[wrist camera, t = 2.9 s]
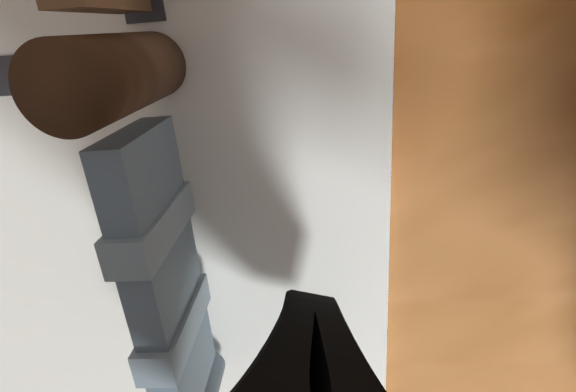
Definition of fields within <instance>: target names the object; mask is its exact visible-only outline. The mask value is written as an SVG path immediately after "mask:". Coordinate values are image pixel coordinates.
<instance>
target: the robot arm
mask: <svg viewBox="0 0 576 392" xmlns="http://www.w3.org/2000/svg"><path fill="white" fill-rule="evenodd" d="M230 392H387V391H386V390H385V388H384V387H383V385H382V384H381V382H380V381H379V379H378V378H377V376H376V375H375V373H374V371H373V370H372V368H371V366H370V365H369V363H368V361H367V360H366V358H365V356H364V355H363V353H362V351H361V349H360V347H359V346H358V344H357V342H356V340H355V338H354V336H353V335H352V333H351V331H350V329H349V327H348V325H347V323H346V321H345V319H344V317H343V314H342V312H341V310H340V308H339V306H338V303H337V301H336V300H335V298H334V297H329V296H324V295H318V294H313V293H308V292H303V291H297V290H292V289H291V290H289V291H287V292H286V295H285V299H284V304H283V308H282V311H281V313H280V315H279V318H278V320H277V322H276V324H275V326H274V328H273V329H272V331H271V333H270V335H269V337H268V339H267V340H266V342H265V344H264V345H263V347H262V348H261V350H260V351H259V353H258V355H257V356H256V358H255V359H254V361H253V362H252V364H251V365H250V366H249V368H248V369H247V370H246V372H245V373H244V375H243V376H242V377H241V378H240V380H239V381H238V382H237V383H236V385H235V386H234V387H233V388H232V390H231V391H230Z"/></svg>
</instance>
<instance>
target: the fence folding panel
mask: <svg viewBox="0 0 576 392" xmlns="http://www.w3.org/2000/svg"><path fill="white" fill-rule="evenodd" d="M79 156H80V159H81V163H82V166H83V170H84V173H85V177H86V180H87V184H88V187H89V191H90V195H91V198H92V202H93V205H94V209H95V212H96V216H97V219H98V223H99V226H100V230H101V233H102V236H101V237H100V238H99V239H98V240H97V241H96V242H95V243H94V247H95V251H96V254H97V258H98V261H99V264H100V268H101V271H102V275H103V278H104V281H105V282H115V283H116V286H117V290H118V294H119V297H120V301H121V304H122V308H123V311H124V315H125V318H126V322H127V325H128V329H129V332H130V336H131V339H132V343H133V347H134V348H133V350H132V352H131V354H130V356H129V358H128V363H129V366H130V370H131V373H132V376H133V380H134V383H135V386H136V388H145V389H146V392H219V389H220V385H221V382H222V378H223V374H224V370H225V360H224V359H223V357H222V356H221V355H220V354H219V353H217V352H215V348H214V342H213V337H212V332H211V326H210V321H209V315H208V310H207V307H208V304H209V302H210V299H211V296H210V291H209V285H208V280H207V274H201V272H200V267H199V261H198V256H197V250H196V245H195V239H194V234H193V229H192V223H191V217H192V215H193V214H194V212H195V207H194V201H193V196H192V190H191V184H190V181H184V180H183V174H182V169H181V164H180V158H179V153H178V147H177V142H176V137H175V131H174V126H173V120H172V116H158V117H142V118H139V119H137V120H136V121H134V122H132V123H130V124H128V125H127V126H125V127H123V128H121V129H119V130H117V131H116V132H114V133H112V134H110V135H108V136H106V137H105V138H103V139H101V140H99V141H97V142H95V143H94V144H92V145H90V146H88V147H86V148H85V149H83V150H81V151H79Z"/></svg>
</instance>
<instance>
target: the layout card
mask: <svg viewBox="0 0 576 392" xmlns="http://www.w3.org/2000/svg"><path fill="white" fill-rule="evenodd" d="M150 1H151V7H152V12H141V13H129V14H99V13H76V12H54V11H38V7H37V4H36V0H0V392H146V389H145V388H136V386H135V383H134V380H133V376H132V373H131V370H130V366H129V363H128V358H129V356H130V354H131V352H132V350H133V348H134V347H133V343H132V339H131V336H130V332H129V329H128V325H127V322H126V318H125V315H124V311H123V308H122V304H121V301H120V297H119V294H118V290H117V286H116V283H115V282H105V281H104V278H103V275H102V271H101V268H100V264H99V261H98V258H97V254H96V251H95V247H94V243H95V242H96V241H97V240H98V239H99V238H100V237H101V236H102V233H101V230H100V226H99V223H98V219H97V216H96V212H95V209H94V205H93V202H92V198H91V195H90V191H89V187H88V184H87V180H86V177H85V173H84V170H83V166H82V163H81V159H80V156H79V151H81V150H83V149H85V148H86V147H88V146H90V145H92V144H94V143H95V142H97V141H99V140H101V139H103V138H105V137H106V136H108V135H110V134H112V133H114V132H116V131H117V130H119V129H121V128H123V127H125V126H127V125H128V124H130V123H132V122H134V121H136V120H137V119H139V118H142V117H158V116H172V120H173V126H174V131H175V137H176V142H177V147H178V153H179V158H180V164H181V169H182V174H183V180H184V181H190V184H191V190H192V196H193V201H194V207H195V212H194V214H193V215H192V217H191V223H192V229H193V234H194V239H195V245H196V250H197V256H198V261H199V267H200V272H201V274H207V280H208V285H209V291H210V296H211V299H210V302H209V304H208V307H207V310H208V315H209V321H210V326H211V332H212V337H213V342H214V348H215V352H217V353H219V354H220V355H221V356H222V357H223V359H224V360H225V370H224V374H223V378H222V382H221V385H220V389H219V392H230V391H231V390H232V388H233V387H234V386H235V385H236V383H237V382H238V381H239V380H240V378H241V377H242V376H243V375H244V373H245V372H246V370H247V369H248V368H249V366H250V365H251V364H252V362H253V361H254V359H255V358H256V356H257V355H258V353H259V351H260V350H261V348H262V347H263V345H264V344H265V342H266V340H267V339H268V337H269V335H270V333H271V331H272V329H273V328H274V326H275V324H276V322H277V320H278V318H279V315H280V313H281V311H282V308H283V304H284V299H285V295H286V292H287V291H289V290H291V289H292V290H297V291H303V292H308V293H313V294H318V295H324V296H329V297H334V298H335V300H336V301H337V303H338V306H339V308H340V310H341V312H342V314H343V317H344V319H345V321H346V323H347V325H348V327H349V329H350V331H351V333H352V335H353V336H354V338H355V340H356V342H357V344H358V346H359V347H360V349H361V351H362V353H363V355H364V356H365V358H366V360H367V361H368V363H369V365H370V366H371V368H372V370H373V371H374V373H375V375H376V376H377V378H378V379H379V381H380V382H381V384H382V385H383V387H384V388H385V390H386V356H387V316H388V276H389V236H390V196H391V156H392V116H393V76H394V36H395V0H150ZM142 31H156V32H160V33H163V34H165V35H167V36H169V37H170V38H171V39H173V40H174V41H175V42H176V43H177V44H178V46H179V47H180V49H181V50H182V52H183V55H184V57H185V61H186V75H185V79H184V81H183V83H182V85H181V86H180V87H179V89H178V90H177V91H175V92H174V93H172V94H170V95H168V96H166V97H164V98H162V99H160V100H158V101H156V102H154V103H152V104H150V105H148V106H146V107H144V108H142V109H140V110H138V111H136V112H134V113H132V114H130V115H128V116H126V117H124V118H122V119H120V120H118V121H116V122H114V123H112V124H110V125H108V126H106V127H104V128H102V129H100V130H98V131H96V132H94V133H92V134H90V135H88V136H86V137H83V138H80V139H73V140H66V139H59V138H56V137H52V136H50V135H47V134H45V133H44V132H42V131H40V130H39V129H37V128H36V127H34V126H33V125H32V124H31V123H30V122H29V121H28V120H27V119H26V118H25V117H24V116H23V115H22V113H21V112H20V111H19V109H18V108H17V106H16V104H15V102H14V100H13V98H12V95H11V92H10V88H9V82H8V70H9V65H10V61H11V59H12V57H13V55H14V53H15V52H16V50H17V49H18V48H19V47H20V46H21V45H22V44H24V43H25V42H27V41H28V40H30V39H33V38H36V37H42V36H61V35H81V34H101V33H122V32H142Z"/></svg>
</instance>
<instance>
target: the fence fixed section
mask: <svg viewBox="0 0 576 392" xmlns="http://www.w3.org/2000/svg"><path fill="white" fill-rule="evenodd" d="M36 4H37V7H38V11H54V12H76V13H99V14H129V13H141V12H152V7H151V1H150V0H36ZM185 75H186V61H185V57H184V55H183V52H182V50H181V49H180V47H179V46H178V44H177V43H176V42H175V41H174V40H173V39H171V38H170V37H169V36H167V35H165V34H163V33H160V32H156V31H142V32H122V33H101V34H81V35H61V36H42V37H36V38H33V39H30V40H28V41H27V42H25V43H24V44H22V45H21V46H20V47H19V48H18V49H17V50H16V52H15V53H14V55H13V57H12V59H11V61H10V65H9V70H8V82H9V88H10V92H11V95H12V98H13V100H14V102H15V104H16V106H17V108H18V109H19V111H20V112H21V113H22V115H23V116H24V117H25V118H26V119H27V120H28V121H29V122H30V123H31V124H32V125H33V126H34V127H36V128H37V129H39V130H40V131H42V132H44V133H45V134H47V135H50V136H52V137H56V138H59V139H66V140H73V139H80V138H83V137H86V136H88V135H90V134H92V133H94V132H96V131H98V130H100V129H102V128H104V127H106V126H108V125H110V124H112V123H114V122H116V121H118V120H120V119H122V118H124V117H126V116H128V115H130V114H132V113H134V112H136V111H138V110H140V109H142V108H144V107H146V106H148V105H150V104H152V103H154V102H156V101H158V100H160V99H162V98H164V97H166V96H168V95H170V94H172V93H174V92H175V91H177V90H178V89H179V87H180V86H181V85H182V83H183V81H184V79H185Z"/></svg>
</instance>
